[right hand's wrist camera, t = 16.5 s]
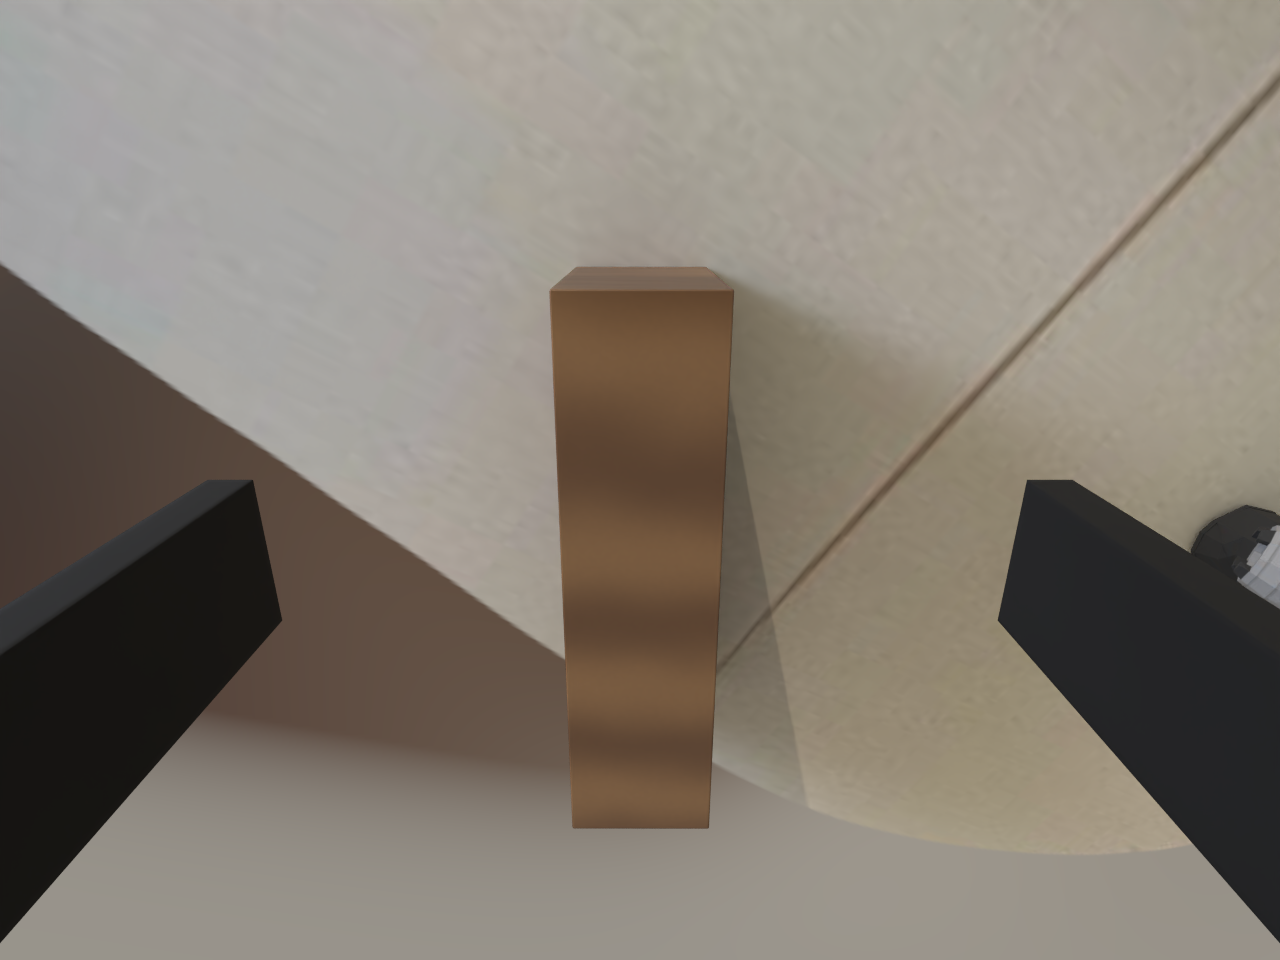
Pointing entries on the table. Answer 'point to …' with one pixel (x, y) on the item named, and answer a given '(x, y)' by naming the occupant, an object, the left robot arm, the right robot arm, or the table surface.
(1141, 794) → the table surface
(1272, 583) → the robot
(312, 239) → the table surface
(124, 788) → the right robot arm
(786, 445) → the table surface
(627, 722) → the box
